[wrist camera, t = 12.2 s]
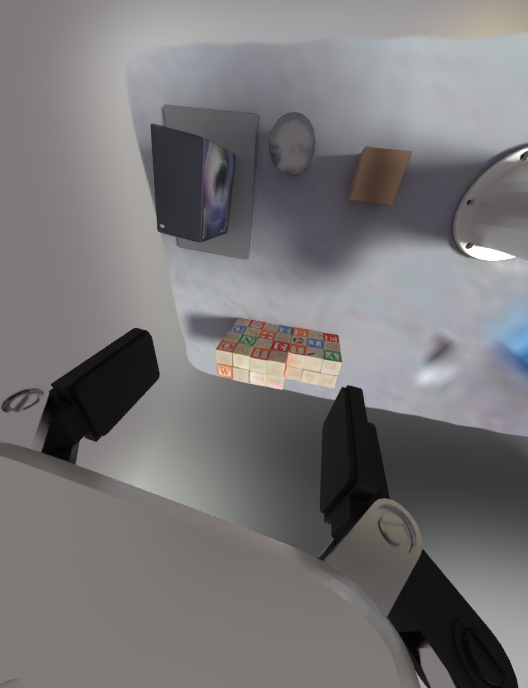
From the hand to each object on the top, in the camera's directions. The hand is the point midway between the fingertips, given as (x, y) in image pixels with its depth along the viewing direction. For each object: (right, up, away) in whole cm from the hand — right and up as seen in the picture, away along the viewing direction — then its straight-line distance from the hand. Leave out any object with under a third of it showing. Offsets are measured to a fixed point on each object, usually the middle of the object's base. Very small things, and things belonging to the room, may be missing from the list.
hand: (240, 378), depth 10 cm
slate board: (-7, +26, +24) cm, 36 cm away
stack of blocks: (+6, +3, +36) cm, 37 cm away
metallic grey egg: (+5, +28, +19) cm, 34 cm away
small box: (-7, +25, +23) cm, 35 cm away
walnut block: (+16, +24, +19) cm, 35 cm away
